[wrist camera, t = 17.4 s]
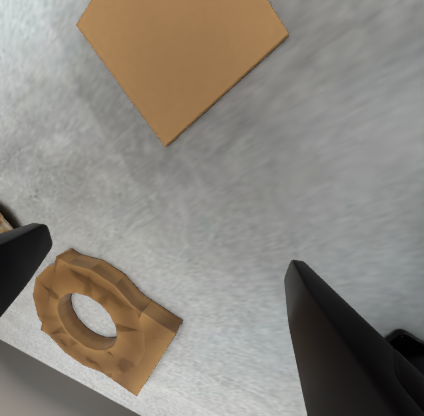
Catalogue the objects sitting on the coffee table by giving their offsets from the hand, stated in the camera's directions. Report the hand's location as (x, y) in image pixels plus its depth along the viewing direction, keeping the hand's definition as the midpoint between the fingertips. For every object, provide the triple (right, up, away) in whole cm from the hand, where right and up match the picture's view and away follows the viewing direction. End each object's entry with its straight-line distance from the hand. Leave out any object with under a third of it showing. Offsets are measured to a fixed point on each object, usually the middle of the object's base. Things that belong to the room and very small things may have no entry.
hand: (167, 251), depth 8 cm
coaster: (-1, +15, +9) cm, 17 cm away
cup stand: (-13, -12, +21) cm, 28 cm away
